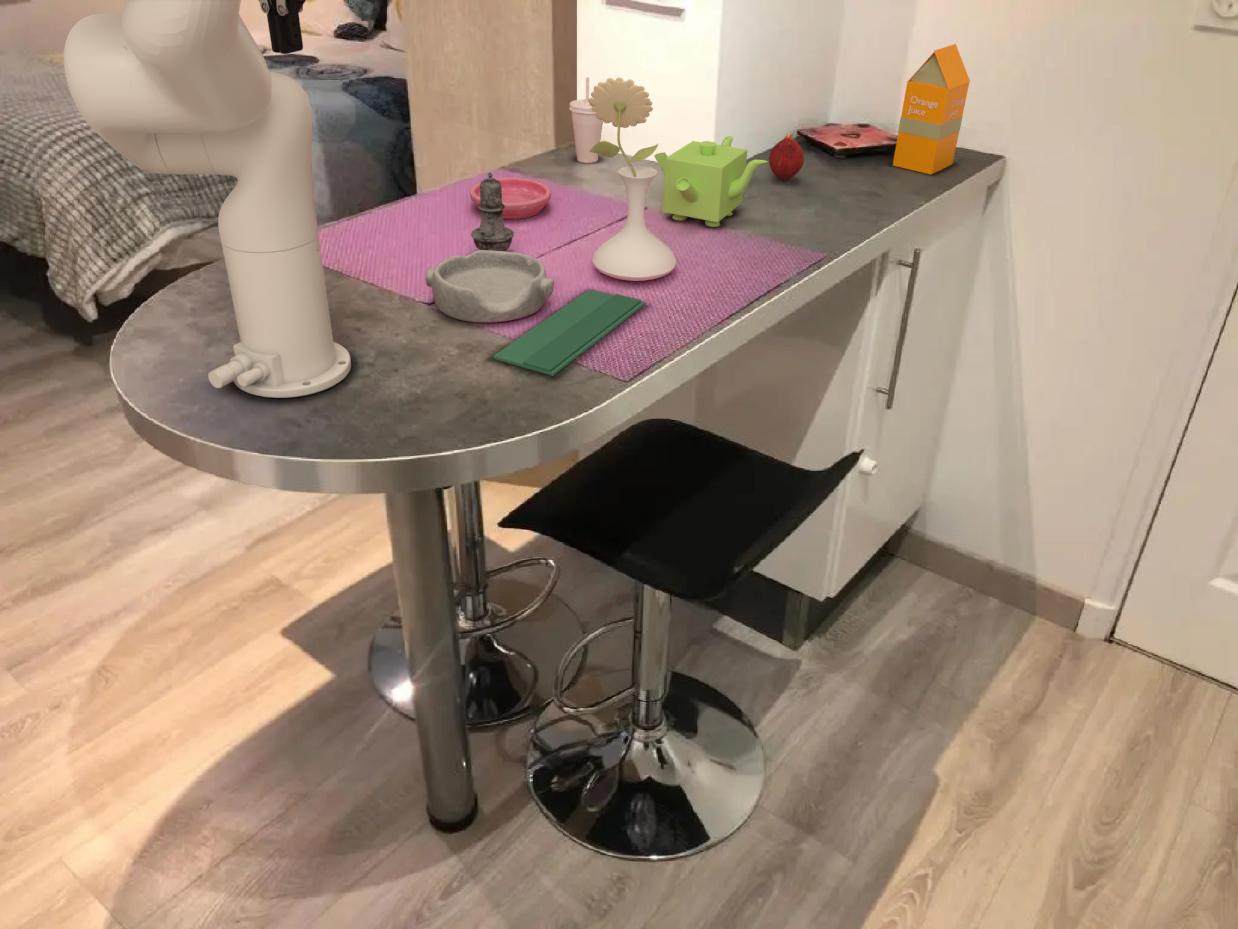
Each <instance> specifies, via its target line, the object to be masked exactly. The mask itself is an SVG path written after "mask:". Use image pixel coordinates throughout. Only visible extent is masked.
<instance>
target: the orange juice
mask: <svg viewBox="0 0 1238 929" xmlns="http://www.w3.org/2000/svg"><path fill="white" fill-rule="evenodd" d="M970 82H971V80H970V77H969V74H968V72H967V70H966V67H965V64H964V62H963V59H962V56H961V54H960V51H959V48H958V45H957V44H956V43H953V44H951V45H947V46H945V47H941V48H938V49H935V50H933V52H932V53H931V55H930V56H929V57H928V58H927V59H926V60H925V61H924V63H922V65H921V66H920V67H919V68H918V69H917V70H916V72H914V74H913V75H912V76H911V77H910V78H909V80H907V82H906V87H905V92H904V98H903V102H902V103H903V104H902V110H901V115H900V119H899V125H898V132H897V139H896V143H895V144H896V145H895V150H894V155H893V161H892V166H893V167H897V168H901V169H906V170H910V171H915V172H918V173H923V174H928V175H933V174H935V173H937V172H940V171H941V170H943V169H945V168H948V167H949V166H952V165H953V164H954V159H955V153H956V149H957V145H958V140H959V134H960V131H961V126H962V121H963V116H964V110H965V105H966V101H967V94H968V91H969V87H970V86H969V85H970Z"/></svg>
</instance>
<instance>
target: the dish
mask: <svg viewBox="0 0 1238 929" xmlns="http://www.w3.org/2000/svg"><path fill="white" fill-rule="evenodd" d="M425 284H426V286H427V287H429V288H431V289H432V291H431V292H432V297H433V301H434V303H435V306H436V307H437V309H438V310H439V311H441V312H442V313H443V314H444V315H446V316H448V317H450V318H452V319H456V320H460V321H464V322H469V323H501V322H509V321H513V320H519V319H523V318H526V317H529V316H531V315H534V314H535V313H537V312H538V311H539V310H540V309H542V307H543V306H544V303H545V301H546V298H550V297H551V296H552V294H553V292H554V286H555V280H554V279H553V278H548V277H547V271H546V267H545V265H544V264H543V263H542V261H541V260H540V259H539V258H537V257H532V256H531V255H528V254H526V253H523V252H522V253H521V252H515V251H507V252H505V251H490V250H479V249H478V250H474V251H472V252H471V253H470V254H467V255H461V254H455V255H453V256H450V257H447V258H445V259H443V261H441V262H439V263H438V264H437V265H436V266H435V267H434V268H431V267H430V268H429V269H428V270H427V271H426V275H425Z"/></svg>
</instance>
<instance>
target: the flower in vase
mask: <svg viewBox="0 0 1238 929" xmlns="http://www.w3.org/2000/svg"><path fill="white" fill-rule="evenodd" d="M645 89H646V88H645V87H644V86H643V85H639V86H638V85H636V84H635V82H634V80H633V79H630V78H629V79H627V80H624V79H623V78H622V77H617V78H615V79H614V78H613V77H608V78H607V79H606V81H604V82H603V81H599V82H598V83H597V85H594V86H593V91H592V92H590V96H591V97H589V99H588V102H589V104H590V105H591V106H592V108H591V109H592V111H593V112H596V117H597V118H599V119H600V120H603V124H610V123H611V125H612V126H613V127H615V128H617V132H616V133H617V134H616V135H617V136H616V137H617V138H616V139H617V145H616V144H614V143H612V142H610V141H607V140H602V141H601V140H600V142H599V143H597V144H596V145H594V146H593V147H592V149H591V150H590V151H589V152H592V153H597V154H599V155H600V156H602V157H603V156H604V157H607V158H614V157H615V156H617V154H618V153H619V152H620V153H621V154H622V156H623V158H624V159H625V161H626V162H627V165H626V166H623V167H620V168H618V170H617V173H618V174H619V176H620V177H621V180H622V181H623V184H624V187H625V191H626V200H627V214H626V222H625V224H624V226H623V227H622V228H621V229H620V230H619V231H618V232H617V233H615V234H614V235H613V236H611V237H609V238H608V239H607V240H605V241H603V243H601V244H600V246H599V247H597V249H596V250H595V251H594V253H593V255H592V258H591V261H592V264H593V265H594V267H595V269H596V270H597V271H598V272H600V273H601V274H603V275H605V276H607V277H610V278H614V279H617V280H622V281H629V282H640V281H641V282H642V281H643V282H644V281H651V280H655V279H659V278H662V277H665V276H667V275H669V274H670V273H671V272H672V271H673V270H674V269H675V268H676V266H677V259H676V256H675V254H674V251H672V250H671V248H670V247H669V246H668V245H667V244H666V243H664V242H663V241H662V240H661V239H659V238H658V237H657V236H656V235H655V234H653V233H652V232H651V231H650V230H649V228H648V227H647V225H646V219H645V211H646V210H645V208H646V200H647V194H648V190H649V188H650V185H651V183H652V181H653V179H654V178H655V177H656V176H657V175H658V171H657V170H656V169H655V168H653V167H650V166H645V165H633V164H632V163H633V162H640V161H643V160H646V159H647V158H649V157H650V156H652V155H653V154H654V153H655V152H656V150H657V148H658V146H659V143H657V144H655V145H652V146H648V147H644V148H641V149H639V150H638V151H637V152H636V153H634V155H633V156H632V157H631V158H630V159H629V157H628V156H627V155H626V153H625V151H624V149H623V147H622V144H621V128H623V129H627V128H629V126H630V127H636V126H637V125H639V124H645V123H646V122H647V121H648V120H647V118H648V117H650V115H651V114H650V113H651V112H652V111H653V110H654V107H653V106H652V105H653V102H652V101H651V99H650V98H649V96H650V94H649V92H648V91H645ZM631 162H632V163H631Z"/></svg>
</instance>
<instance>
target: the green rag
mask: <svg viewBox="0 0 1238 929" xmlns="http://www.w3.org/2000/svg"><path fill="white" fill-rule="evenodd" d="M644 306H645V303H644V302H642V300H641V299H638V298H635V297H634V298H633V297H630V296H625V295H622V294H618V293H616V294H614V295H613V294H609V293H605V292H601V291H597V290H593V289H588V290H587V291H585V292H584V293H582V294H581V295H579V296H578V297H576V298H575V299H573V300H572V301H571V302H569V303H568V304H566V305H565V306H563V307H562V308H560V309H559V310H557V311H556V312H555V313H553V314H552V315H550V316H549V317H547V318H546V319H544V320H543V321H542V322H540V323H539V324H537V325H536V326H534V327H533V328H532V329H529V331H526V332H525V333H524V334H523V335H521V336H520V337H518V338H517V339H515V340H514V341H512V342H511V343H510V344H509V345H507V346H505V347H504V348H503V349H501V350H499V351H498V352H497V353H495V354H494V355H493V357H492V359H493V360H497V361H499V362H503V363H507V364H510V365H513V366H517V367H519V368H523V369H527V370H529V371H530V370H531V371H534V372H537V373H541V374H544V375H548V376H551V377H554V376H555V375H557V374H558V373H559V372H560V371H562V370H563V369H564V368H565V367H567V366H569V365H570V364H571V363H572V362H574V361H575V360H576V359H578V358H579V357H580V356H581V355H583V353H585V352H586V351H588V350H589V349H590V348H591V347H593V346H594V345H595V344H597V343H598V342H599V341H601V340H602V339H603V338H605V337H606V336H607V335H608V334H609V333H611V332H612V331H614V329H615V330H616V328H617V327H618V326H620V325H621V324H622V323H624V322H625V321H627V320H628V319H629V318H630V317H632V315H635V313H637V312H638V311H639V310H641V309H642V308H643V307H644Z"/></svg>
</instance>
